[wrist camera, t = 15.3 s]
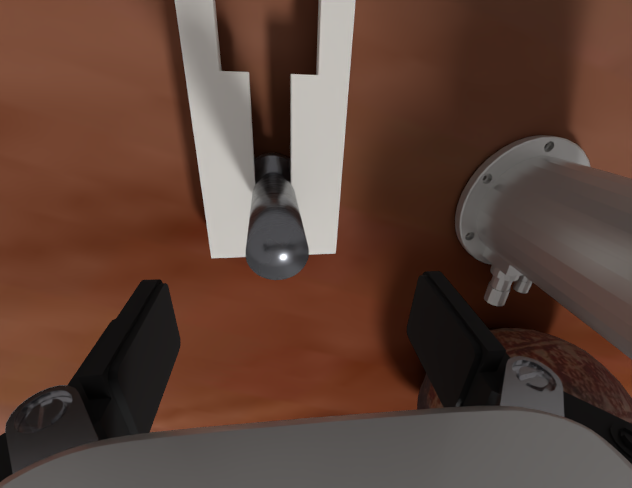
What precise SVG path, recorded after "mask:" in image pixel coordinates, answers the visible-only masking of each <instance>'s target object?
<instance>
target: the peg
mask: <svg viewBox="0 0 632 488" xmlns="http://www.w3.org/2000/svg"><path fill="white" fill-rule="evenodd" d="M254 166H255V183H256V185H255V187H254V189H253V193H252V201H251V209H250V218H249V226H248V235H247V243H246V260H247V263H248V265H249V266H250V268H251V269H252V270H253V271H254V272H255V273H256V274H258V275H259V276H261V277H264V278H267V279H272V280H281V279H286V278H289V277H292V276H294V275H295V274H297V273H298V272H299V271H300V270H302V268H303V267H304V266H305V264H306V262H307V260H308V256H309V248H308V244H307V240H306V236H305V231H304V227H303V223H302V219H301V215H300V211H299V207H298V203H297V199H296V195H295V191H294V188H293V186H292V185H291V183H290V159H289V158H288V157H287V156H285V155H283V154H280V153H274V152H270V153H264V154H261V155H259V156H257V157H256V158H255V159H254Z"/></svg>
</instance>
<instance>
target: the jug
mask: <svg viewBox="0 0 632 488" xmlns="http://www.w3.org/2000/svg"><path fill="white" fill-rule="evenodd" d="M490 331H491V332H492V333H493V335H494V336H495V337H496V338H497V339H498V341H499V342H500V343H501V344H502V345H503V347H504V348H505V349H506V353H507V354H508V355H509V356H510V358H512V357H515V356H523V357H528V358H532V359H535V360H537V361H539V362H541V363H543V364H544V365H546V366H547V367H549V368H550V369H551V370H552V371H553V372H554V373H555V374H556V375H557V376H558V377H559V379H560V380H561V382H562V386H563V391H564V392H566V393H568V394H571V395H573V396H575V397H577V398H579V399H581V400H583V401H585V402H587V403H589V404H592V405H594V406H596V407H598V408H600V409H602V410H604V411H606V412H608V413H610V414H612V415H615V416H617V417H619V418H621V419H623V420H625V421H627V422H629V423H631V424H632V398H631V397H630V395H629V394H628V393H627V391H626V390H625V389H624V387H623V386H622V385H621V383H620V382H619V381H618V380H617V379H616V378H615V377H614V376H613V375H612V374H611V373H610V372H609V371H608V370H607V369H606V368H605V367H604V366H603V365H602V364H601V363H600V362H598V361H597V360H596V359H595V358H594V357H592V356H591V355H590V354H589V353H587V352H586V351H584V350H583V349H581V348H579V347H577V346H575V345H573V344H571V343H569V342H567V341H565V340H563V339H560V338H558V337H555V336H552V335H549V334H546V333H542V332H539V331H535V330H528V329H521V328H500V329H493V330H490ZM432 408H444V407H443V405H442V404H441V402H440V400H439V398H438V396H437V394H436V392H435V390H434V388H433V386H432V384H431V382H430V380H429V378H428V376H427V374H426V375H425V378H424V381H423V383H422V385H421V388H420V391H419V395H418V403H417V410H419V409H432Z"/></svg>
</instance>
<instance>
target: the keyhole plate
mask: <svg viewBox="0 0 632 488" xmlns="http://www.w3.org/2000/svg"><path fill="white" fill-rule="evenodd" d="M175 7H176V14H177V21H178V28H179V35H180V42H181V49H182V56H183V63H184V70H185V77H186V84H187V91H188V98H189V105H190V112H191V119H192V126H193V133H194V140H195V147H196V154H197V161H198V168H199V175H200V182H201V189H202V196H203V203H204V210H205V217H206V224H207V231H208V238H209V245H210V252H211V258H231V257H246V243H247V235H248V226H249V218H250V209H251V201H252V193H253V189H254V187H255V185H256V183H255V166H254V148H253V131H252V113H251V95H250V78H249V72H234V71H222V70H221V60H220V49H219V38H218V28H217V17H216V6H215V0H175ZM354 13H355V0H319V6H318V36H317V66H316V75H302V74H290V183H291V185H292V186H293V188H294V191H295V195H296V199H297V203H298V207H299V211H300V215H301V219H302V223H303V227H304V231H305V236H306V240H307V244H308V248H309V254H335V253H336V243H337V230H338V217H339V204H340V192H341V179H342V166H343V153H344V141H345V128H346V115H347V102H348V89H349V77H350V64H351V51H352V38H353V26H354Z"/></svg>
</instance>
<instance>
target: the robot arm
mask: <svg viewBox="0 0 632 488" xmlns="http://www.w3.org/2000/svg"><path fill="white" fill-rule="evenodd" d="M455 229H456V233H457V237H458V240H459V241H460V243H461V245H462V247H463V248H464V249H465V250H466V251H467V252H468V253H469V254H470V255H472V256H473V257H474V258H475V259H477V260H479V261H481V262H483V263H486V264H491V265H492V266H491V269H490V272H491V273H492V275H493V277H492V280H491V281H490V282H489V284H488V286H487V289H486V292H485V295H484V300H485V301H486V302H488V303H489V304H491V305H494V306H503V305H504V304H505V302H506V299H507V297H508V295H509V292H510V286H511V284H512V282H513V281H515V283H514V285H513V289H514V290H516V291H517V292H520V293H528V291H529V289H530V287H531V284H532V282H533V283H534V284H535V285H537V286H538V287H539V288H541V289H542V290H543V291H544V292H546V293H547V294H548V295H550V296H551V297H552V298H553V299H555V300H556V301H557V302H559V303H560V304H561V305H562V306H564V307H565V308H566V309H568V310H569V311H570V312H571V313H573V314H574V315H575V316H577V317H578V318H579V319H580V320H582V321H583V322H584V323H586V324H587V325H588V326H589V327H591V328H592V329H593V330H595V331H596V332H597V333H598V334H600V335H601V336H602V337H604V338H605V339H606V340H608V341H609V342H610V343H611V344H613V345H614V346H615V347H617V348H618V349H619V350H620V351H622V352H623V353H624V354H626V355H627V356H628V357H629V358H631V359H632V179H631V178H627V177H624V176H620V175H617V174H613V173H610V172H606V171H603V170H599V169H596V168H592V167H590V163H589V160H588V158H587V156H586V154H585V152H584V151H583V150H582V149H581V148H580V147H579V146H578V145H577V144H576V143H574V142H572V141H570V140H568V139H565V138H560V137H556V136H548V135H538V136H531V137H526V138H523V139H520V140H517V141H515V142H513V143H511V144H509V145H507V146H505V147H503V148H501V149H500V150H499V151H497V152H496V153H495V154H493V155H492V156H491V157H489V158H488V159H487V160H486V161H485V162H484V163H483V164H482V165H481V166H480V167H479V168H478V169H477V170H476V172H475V173H474V174H473V176H472V177H471V178H470V180H469V181H468V183H467V184H466V186H465V188H464V190H463V192H462V194H461V196H460V199H459V202H458V205H457V209H456V215H455ZM407 335H408V338H409V340H410V342H411V344H412V346H413V348H414V350H415V352H416V354H417V356H418V358H419V360H420V362H421V364H422V366H423V368H424V370H425V372H426V374H427V376H428V378H429V380H430V382H431V384H432V386H433V388H434V390H435V392H436V394H437V396H438V398H439V400H440V402H441V404H442V405H443V407H444V408H432V409H419V410H406V411H393V412H379V413H366V414H354V415H342V416H329V417H317V418H305V419H293V420H281V421H269V422H257V423H246V424H235V425H223V426H212V427H200V428H190V429H180V430H171V431H161V432H151V433H149V432H150V429H151V427H152V424H153V421H154V418H155V415H156V413H157V410H158V407H159V404H160V402H161V399H162V396H163V393H164V391H165V388H166V385H167V382H168V380H169V377H170V374H171V371H172V368H173V366H174V363H175V360H176V357H177V355H178V352H179V349H180V336H179V331H178V327H177V323H176V318H175V314H174V310H173V305H172V301H171V297H170V292H169V288H168V285H167V284H166V283H162V281H161V280H142V281H141V282H140V284H139V285H138V287H137V288H136V290H135V291H134V293H133V294H132V296H131V297H130V299H129V300H128V302H127V303H126V305H125V306H124V308H123V309H122V311H121V312H120V314H119V315H118V317H117V318H116V319H114V320H112V321H111V323H110V324H109V325H108V327H107V328H106V330H105V331H104V332H103V334H102V335H101V337H100V338H99V340H98V341H97V343H96V344H95V346H94V347H93V349H92V350H91V352H90V353H89V354H88V356H87V357H86V359H85V360H84V362H83V363H82V365H81V366H80V368H79V369H78V371H77V372H76V374H75V375H74V376H73V378H72V379H71V381H70V382H69V384H68V385H59V386H55V387H50V388H48V389H45V390H43V391H40V392H38V393H36V394H35V395H33V396H31V397H30V398H28V399H27V400H25V401H24V402H23V403H22V404H20V405H19V406H18V407H17V408H16V409H15V410H14V412H13V413H12V414H11V415H10V417H9V419H8V421H7V423H6V429H5V432H6V433H4V434H2V435H1V436H0V488H632V424H631V423H629V422H627V421H625V420H623V419H621V418H619V417H617V416H615V415H612V414H610V413H608V412H606V411H604V410H602V409H600V408H598V407H596V406H594V405H592V404H589V403H587V402H585V401H583V400H581V399H579V398H577V397H575V396H573V395H571V394H568V393H566V392H564V391H563V386H562V382H561V380H560V379H559V377H558V376H557V375H556V374H555V373H554V372H553V371H552V370H551V369H550V368H549V367H547V366H546V365H544V364H543V363H541V362H539V361H537V360H535V359H532V358H528V357H523V356H515V357H512V358H510V356H509V355H508V354H507V353H506V349H505V348H504V347H503V345H502V344H501V343H500V342H499V341H498V339H497V338H496V337H495V336H494V335H493V333H492V332H491V331H490V330H489V329H488V328H487V326H486V325H485V324H484V323H483V322H482V320H481V319H480V318H479V317H478V316H477V314H476V313H475V312H474V311H473V310H472V308H471V307H470V306H469V305H468V304H467V302H466V301H465V300H464V299H463V298H462V296H461V295H460V294H459V293H458V292H457V290H456V289H455V288H454V287H453V286H452V284H451V283H450V282H449V281H448V280H447V278H446V277H445V276H444V275H443V274H442V273H441V272H440V271H430V272H424V273H423V275H421V276H419V278H418V282H417V286H416V290H415V295H414V299H413V303H412V307H411V312H410V316H409V320H408V325H407Z"/></svg>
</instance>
